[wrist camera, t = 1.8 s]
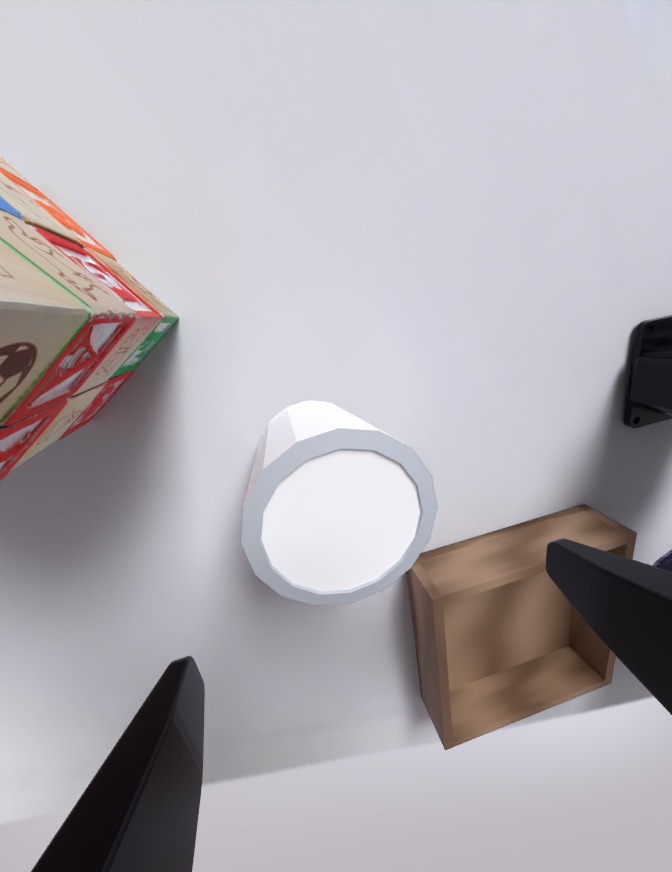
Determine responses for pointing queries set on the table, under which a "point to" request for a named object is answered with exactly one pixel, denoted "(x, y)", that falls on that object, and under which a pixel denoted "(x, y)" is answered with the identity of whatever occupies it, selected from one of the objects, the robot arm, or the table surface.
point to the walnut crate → (506, 625)
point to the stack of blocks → (61, 322)
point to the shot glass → (334, 506)
